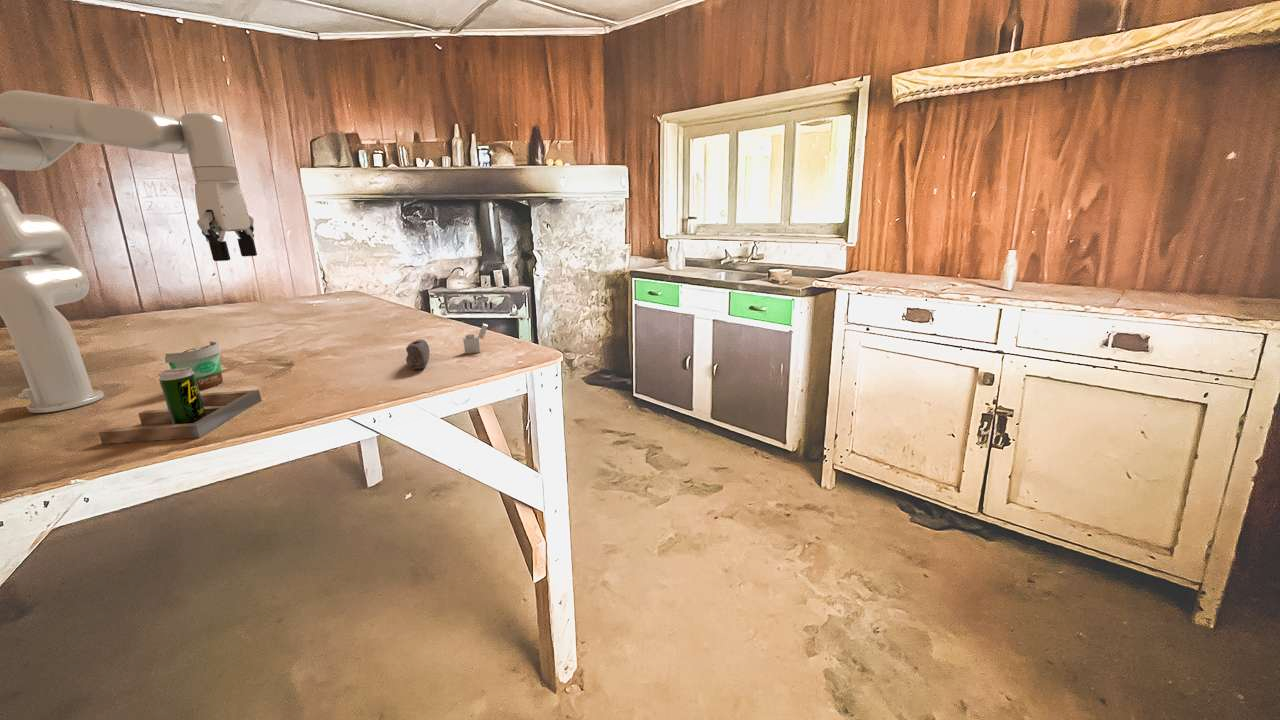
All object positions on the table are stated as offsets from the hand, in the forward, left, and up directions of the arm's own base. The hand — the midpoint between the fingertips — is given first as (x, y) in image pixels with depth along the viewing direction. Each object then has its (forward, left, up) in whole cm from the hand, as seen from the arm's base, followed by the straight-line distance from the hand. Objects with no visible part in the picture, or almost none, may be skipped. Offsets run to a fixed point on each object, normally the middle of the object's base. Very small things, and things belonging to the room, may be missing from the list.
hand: (236, 258), depth 122 cm
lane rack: (-8, -17, -31) cm, 36 cm away
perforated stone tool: (+31, +15, -32) cm, 47 cm away
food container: (-18, +7, -31) cm, 37 cm away
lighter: (+44, +25, -31) cm, 60 cm away
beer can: (-3, -22, -31) cm, 38 cm away
